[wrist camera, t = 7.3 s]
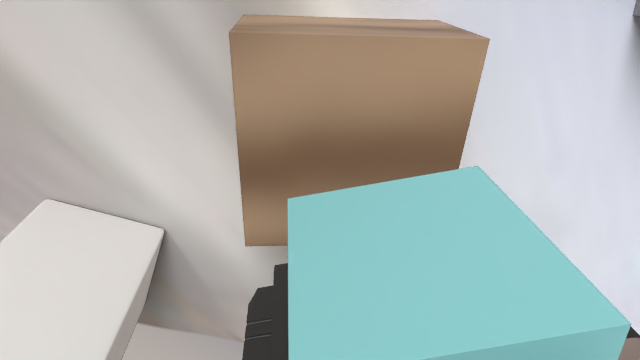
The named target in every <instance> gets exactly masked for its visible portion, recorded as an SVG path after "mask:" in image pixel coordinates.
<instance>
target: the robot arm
mask: <svg viewBox="0 0 640 360" xmlns="http://www.w3.org/2000/svg"><path fill="white" fill-rule="evenodd" d="M242 360H289V340H288V263H286V264H280V265H275V267H274V285H273V286H268V287H262V288H258V289H257V291H256V293H255V294H254V296H253V298H252V300H251V301H250V303H249V305H248V314H247V326H246V332H245V341H244V350H243V359H242ZM618 360H640V335H639V334H638V333H637V332H636V331H635V330H634V329H633V328H632V327H631V326H630V329H629V331H628V334H627V337H626V339H625V342H624V345H623V347H622V350H621V353H620V355H619V358H618Z"/></svg>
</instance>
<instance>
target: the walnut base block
mask: <svg viewBox="0 0 640 360" xmlns="http://www.w3.org/2000/svg"><path fill="white" fill-rule="evenodd" d="M229 40H230V53H231V66H232V79H233V92H234V105H235V118H236V130H237V143H238V156H239V169H240V182H241V195H242V208H243V221H244V234H245V246H278V245H288V199H289V198H295V197H300V196H306V195H312V194H318V193H324V192H329V191H335V190H341V189H347V188H352V187H358V186H364V185H370V184H376V183H381V182H387V181H393V180H399V179H405V178H410V177H416V176H422V175H428V174H433V173H439V172H445V171H451V170H457V169H458V168H459V164H460V160H461V156H462V152H463V148H464V144H465V140H466V135H467V131H468V127H469V123H470V119H471V115H472V111H473V106H474V102H475V98H476V94H477V90H478V86H479V82H480V78H481V73H482V69H483V65H484V61H485V57H486V53H487V49H488V45H489V40H490V39H488V38H486V37H483V36H480V35H477V34H474V33H472V32H469V31H466V30H463V29H461V28H458V27H455V26H452V25H449V24H447V23H444V22H441V21H438V20H405V19H372V18H338V17H304V16H271V15H243V17H242V18H241V19H240V20H239V21H238V22H237V24H236V25H235V26H234V27H233V28H232V29H231V30H230V32H229Z"/></svg>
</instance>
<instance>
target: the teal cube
mask: <svg viewBox="0 0 640 360" xmlns="http://www.w3.org/2000/svg"><path fill="white" fill-rule="evenodd" d="M630 326H631V323H630V322H629V321H628V320H627V319H626V318H625V317H624V316H623V315H622V314H621V313H620V312H619V311H618V310H617V309H616V308H615V307H614V306H613V304H612V303H611V302H610V301H609V300H608V299H607V298H606V297H605V296H604V295H603V294H602V293H601V292H600V291H599V290H598V289H597V288H596V287H595V286H594V285H593V284H592V283H591V282H590V281H589V280H588V279H587V278H586V277H585V276H584V275H583V274H582V273H581V271H580V270H579V269H578V268H577V267H576V266H575V265H574V264H573V263H572V262H571V261H570V260H569V259H568V258H567V257H566V256H565V255H564V254H563V253H562V252H561V251H560V250H559V249H558V248H557V247H556V246H555V245H554V244H553V243H552V242H551V241H550V240H549V238H548V237H547V236H546V235H545V234H544V233H543V232H542V231H541V230H540V229H539V228H538V227H537V226H536V225H535V224H534V223H533V222H532V221H531V220H530V219H529V218H528V217H527V216H526V215H525V214H524V213H523V212H522V211H521V210H520V209H519V208H518V207H517V206H516V204H515V203H514V202H513V201H512V200H511V199H510V198H509V197H508V196H507V195H506V194H505V193H504V192H503V191H502V190H501V189H500V188H499V187H498V186H497V185H496V184H495V183H494V182H493V181H492V180H491V179H490V178H489V177H488V176H487V175H486V174H485V173H484V171H483V170H482V169H481V168H480V167H479V166H474V167H468V168H462V169H457V170H451V171H445V172H439V173H433V174H428V175H422V176H416V177H410V178H405V179H399V180H393V181H387V182H381V183H376V184H370V185H364V186H358V187H352V188H347V189H341V190H335V191H329V192H324V193H318V194H312V195H306V196H300V197H295V198H289V199H288V340H289V360H618V358H619V355H620V353H621V350H622V347H623V345H624V342H625V339H626V337H627V334H628V331H629V329H630Z"/></svg>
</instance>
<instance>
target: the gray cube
mask: <svg viewBox="0 0 640 360" xmlns="http://www.w3.org/2000/svg"><path fill="white" fill-rule="evenodd" d="M633 15H635V16H640V0H636V4H635V8H634V13H633Z"/></svg>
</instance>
